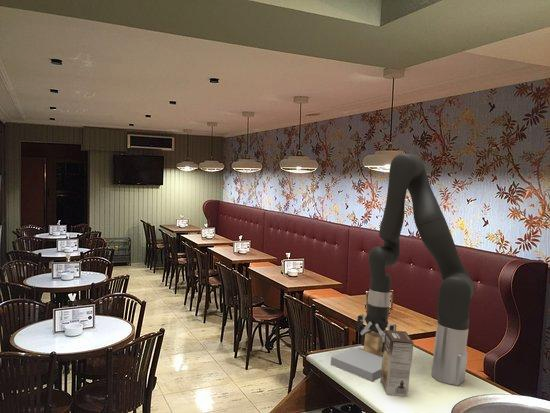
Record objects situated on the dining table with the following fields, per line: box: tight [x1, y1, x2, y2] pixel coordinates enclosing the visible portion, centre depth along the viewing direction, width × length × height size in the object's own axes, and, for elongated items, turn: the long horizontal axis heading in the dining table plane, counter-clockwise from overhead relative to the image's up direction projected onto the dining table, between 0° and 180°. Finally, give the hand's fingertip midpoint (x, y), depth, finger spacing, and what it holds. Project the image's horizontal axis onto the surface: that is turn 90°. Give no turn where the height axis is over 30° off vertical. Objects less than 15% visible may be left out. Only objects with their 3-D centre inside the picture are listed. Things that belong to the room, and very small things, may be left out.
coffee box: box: [379, 329, 415, 397], centre depth 130 cm, size 9×6×16 cm
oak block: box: [363, 331, 383, 357], centre depth 156 cm, size 5×5×7 cm
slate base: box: [330, 346, 383, 382], centre depth 145 cm, size 15×14×2 cm
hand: (373, 348), depth 156 cm, fingers open, 7 cm apart
